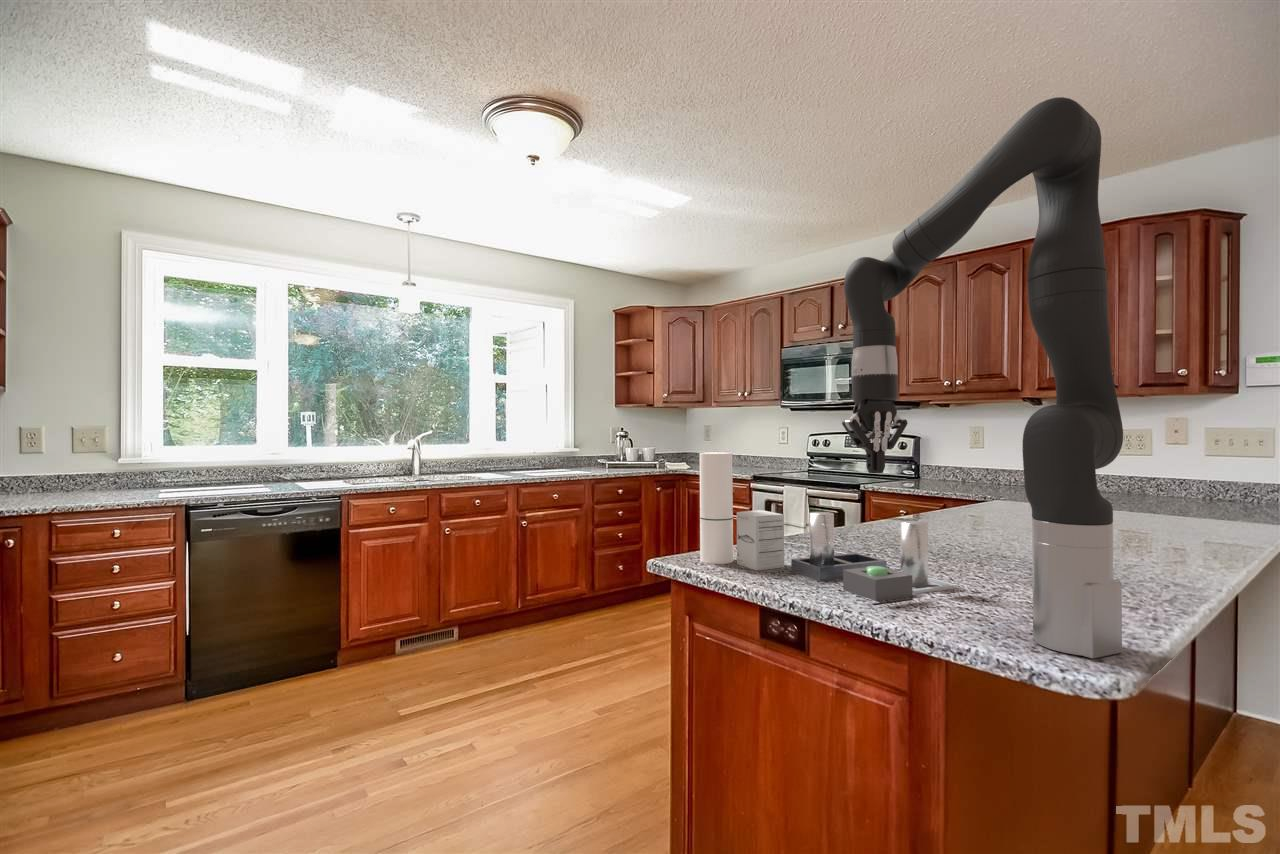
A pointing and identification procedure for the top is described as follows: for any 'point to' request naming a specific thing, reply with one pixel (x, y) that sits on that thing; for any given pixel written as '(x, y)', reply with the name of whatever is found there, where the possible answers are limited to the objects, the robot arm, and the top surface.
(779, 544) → the supplement box
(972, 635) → the top surface
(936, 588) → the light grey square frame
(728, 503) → the cylindrical container
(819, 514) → the cylinder
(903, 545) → the cylinder
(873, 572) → the button
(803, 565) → the double-well grey tray
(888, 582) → the block
